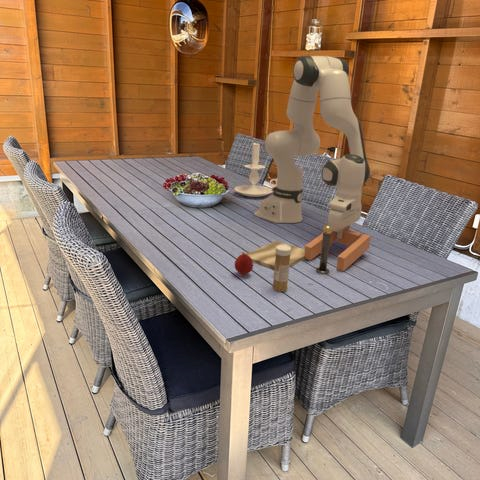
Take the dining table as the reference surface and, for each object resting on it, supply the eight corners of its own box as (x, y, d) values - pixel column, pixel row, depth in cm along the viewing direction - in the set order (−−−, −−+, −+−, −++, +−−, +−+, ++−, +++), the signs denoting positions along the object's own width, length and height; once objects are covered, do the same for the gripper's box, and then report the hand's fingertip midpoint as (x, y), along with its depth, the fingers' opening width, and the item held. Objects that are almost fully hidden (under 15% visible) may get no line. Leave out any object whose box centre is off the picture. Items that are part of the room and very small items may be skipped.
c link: (332, 237, 174) (332, 225, 172) (369, 248, 166) (370, 235, 163) (304, 258, 160) (304, 246, 158) (343, 271, 152) (344, 258, 150)
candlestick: (286, 198, 241) (290, 145, 231) (243, 201, 231) (246, 145, 222) (268, 189, 258) (272, 139, 249) (228, 191, 249) (230, 139, 239)
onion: (251, 272, 148) (253, 249, 145) (252, 279, 143) (254, 255, 140) (233, 271, 148) (234, 248, 145) (234, 279, 142) (235, 255, 140)
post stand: (313, 271, 151) (318, 225, 145) (319, 267, 154) (325, 222, 149) (325, 275, 148) (330, 228, 143) (331, 271, 152) (337, 225, 146)
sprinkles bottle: (271, 285, 139) (274, 244, 135) (286, 285, 140) (289, 244, 135) (273, 292, 135) (277, 249, 130) (288, 292, 135) (292, 250, 131)
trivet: (242, 258, 159) (242, 255, 158) (275, 243, 174) (276, 240, 174) (280, 271, 149) (280, 268, 149) (312, 254, 165) (312, 251, 165)
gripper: (352, 193, 174) (347, 228, 179) (326, 204, 159) (321, 241, 164) (368, 197, 170) (362, 232, 175) (343, 208, 155) (337, 245, 160)
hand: (342, 236), depth 169 cm, fingers closed on c link, 3 cm apart
